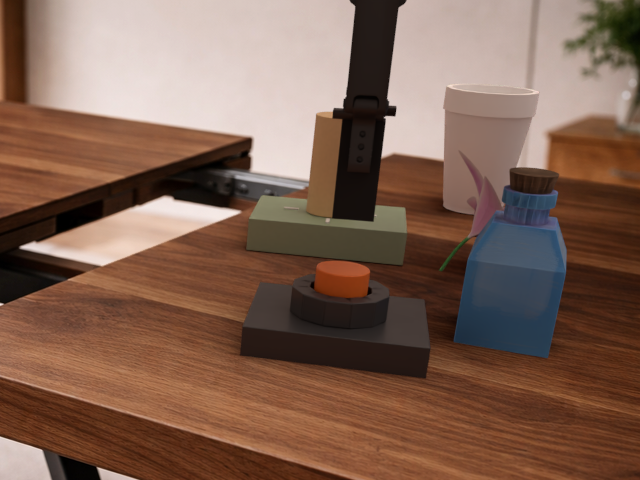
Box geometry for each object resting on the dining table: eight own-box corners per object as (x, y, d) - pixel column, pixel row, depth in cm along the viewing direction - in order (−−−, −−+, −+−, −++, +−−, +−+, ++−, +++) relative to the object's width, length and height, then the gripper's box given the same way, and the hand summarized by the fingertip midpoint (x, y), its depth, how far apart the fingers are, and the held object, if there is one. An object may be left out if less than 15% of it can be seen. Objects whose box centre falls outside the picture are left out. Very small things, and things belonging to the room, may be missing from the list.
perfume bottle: (453, 343, 67) (482, 174, 63) (462, 316, 73) (489, 159, 68) (547, 359, 65) (584, 186, 61) (549, 331, 70) (583, 169, 66)
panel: (400, 237, 94) (405, 205, 93) (402, 265, 85) (407, 231, 84) (259, 224, 97) (261, 193, 96) (246, 250, 88) (248, 216, 87)
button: (367, 287, 67) (370, 263, 66) (366, 303, 63) (370, 278, 63) (315, 281, 68) (318, 258, 67) (312, 297, 64) (314, 272, 64)
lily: (519, 316, 76) (592, 212, 74) (391, 239, 79) (458, 138, 77) (510, 315, 88) (573, 225, 86) (398, 248, 91) (457, 159, 89)
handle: (308, 204, 92) (318, 107, 89) (354, 209, 91) (366, 110, 88) (304, 215, 88) (314, 113, 85) (352, 219, 87) (365, 116, 84)
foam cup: (530, 220, 102) (553, 96, 97) (443, 217, 102) (463, 93, 97) (498, 199, 111) (519, 85, 106) (419, 197, 111) (436, 82, 106)
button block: (420, 327, 70) (428, 275, 69) (425, 380, 61) (435, 321, 60) (257, 309, 73) (262, 258, 71) (239, 357, 64) (244, 300, 62)
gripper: (476, -202, 48) (413, 248, 57) (458, -169, 60) (408, 200, 69) (325, -200, 50) (287, 237, 59) (337, -168, 62) (303, 192, 70)
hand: (353, 217), depth 64 cm, fingers closed
